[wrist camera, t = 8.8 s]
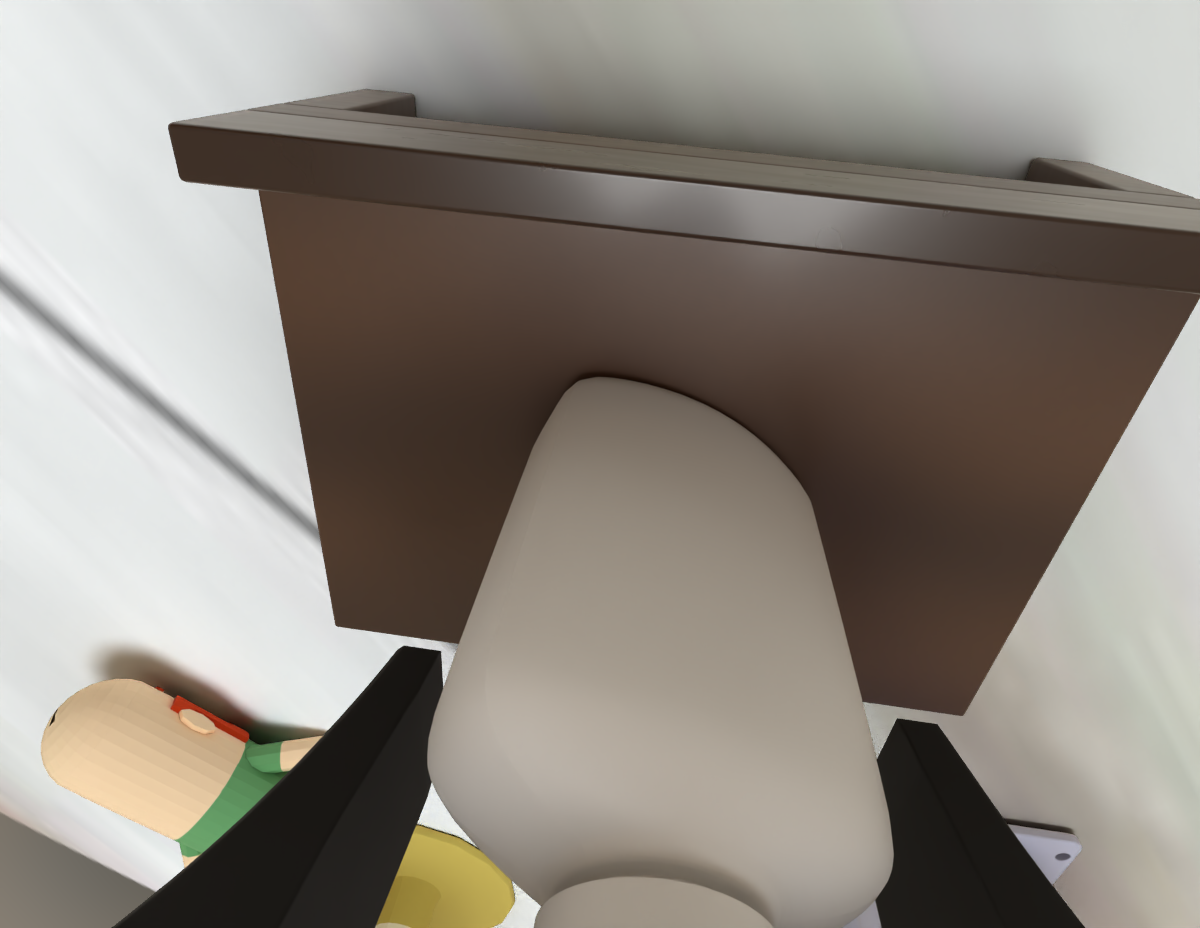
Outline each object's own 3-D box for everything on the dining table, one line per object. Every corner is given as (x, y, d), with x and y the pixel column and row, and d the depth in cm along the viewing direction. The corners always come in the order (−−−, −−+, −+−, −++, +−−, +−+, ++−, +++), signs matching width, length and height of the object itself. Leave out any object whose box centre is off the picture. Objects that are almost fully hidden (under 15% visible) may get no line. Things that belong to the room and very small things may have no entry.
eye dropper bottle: (649, 598, 16) (580, 1565, 6) (509, 409, 14) (8, 1449, 4) (830, 528, 14) (1161, 1688, 4) (704, 303, 12) (778, 1610, 2)
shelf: (909, 581, 21) (994, 792, 15) (402, 513, 22) (297, 689, 16) (1089, 162, 15) (1356, 249, 9) (363, 88, 16) (164, 122, 10)
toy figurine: (393, 741, 32) (156, 597, 27) (391, 815, 28) (110, 659, 23) (273, 865, 32) (18, 743, 28) (253, 957, 28) (-52, 830, 23)
